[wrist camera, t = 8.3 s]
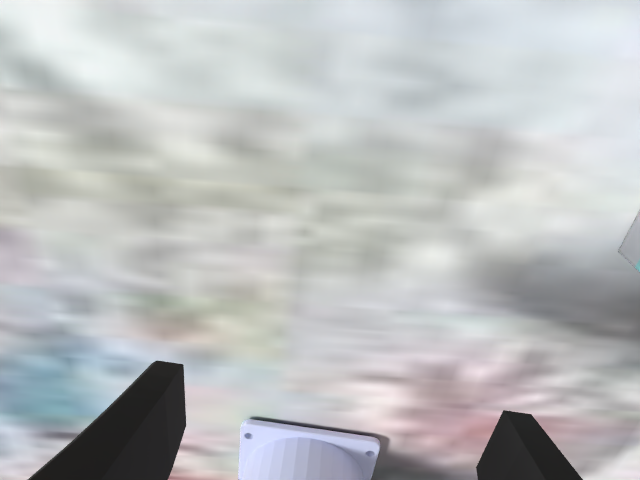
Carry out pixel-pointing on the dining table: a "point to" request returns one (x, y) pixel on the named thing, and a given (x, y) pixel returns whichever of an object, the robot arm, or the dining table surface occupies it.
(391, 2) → the dining table surface
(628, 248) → the base brick
